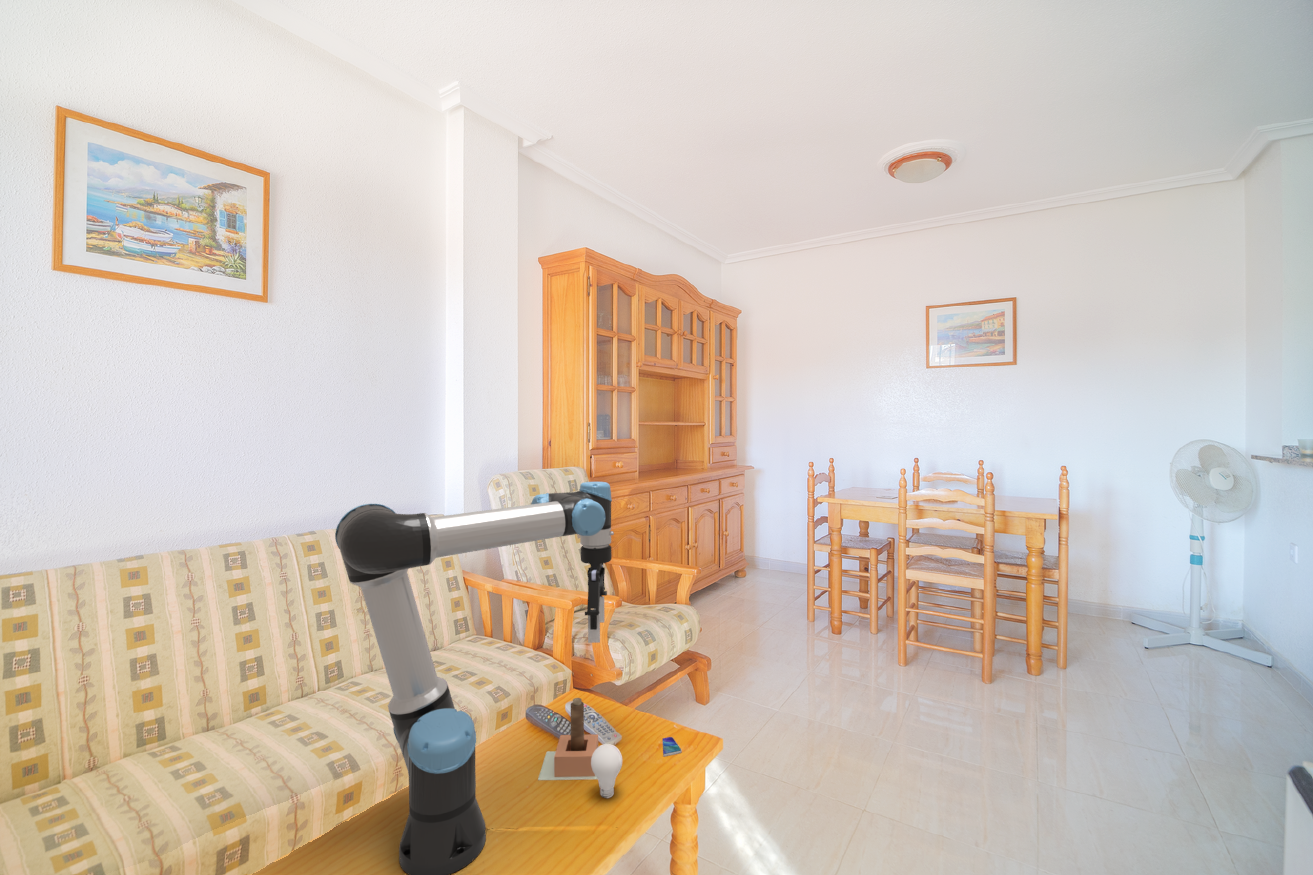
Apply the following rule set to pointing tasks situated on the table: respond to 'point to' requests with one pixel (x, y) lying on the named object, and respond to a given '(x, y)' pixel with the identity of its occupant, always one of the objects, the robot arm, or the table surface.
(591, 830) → the table surface
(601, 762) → the light bulb
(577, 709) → the dark brown rod
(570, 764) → the terracotta hollow block
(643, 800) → the table surface
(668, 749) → the smartphone
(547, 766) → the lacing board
